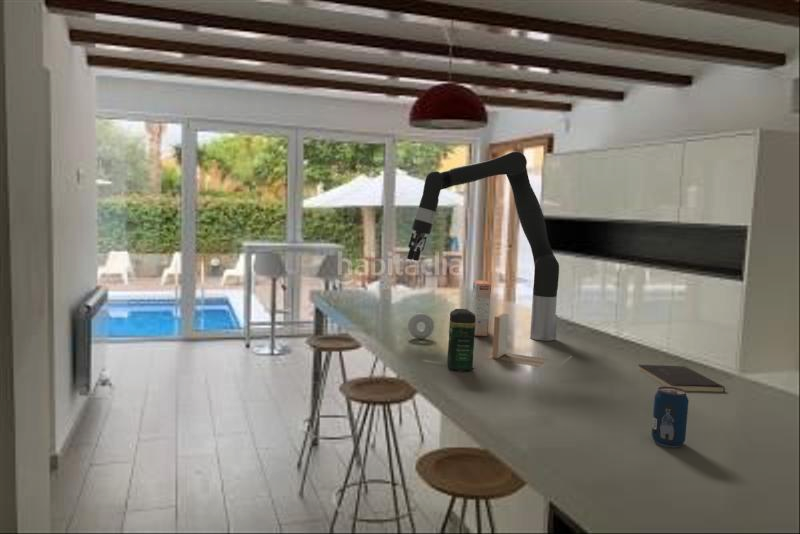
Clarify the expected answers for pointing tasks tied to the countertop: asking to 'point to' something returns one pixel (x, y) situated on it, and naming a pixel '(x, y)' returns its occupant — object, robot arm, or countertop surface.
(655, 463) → the countertop surface
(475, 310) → the cracker box
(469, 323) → the coffee jar
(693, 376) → the hardcover book
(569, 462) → the countertop surface
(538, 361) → the board
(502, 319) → the tile
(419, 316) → the donut
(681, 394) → the soda can
